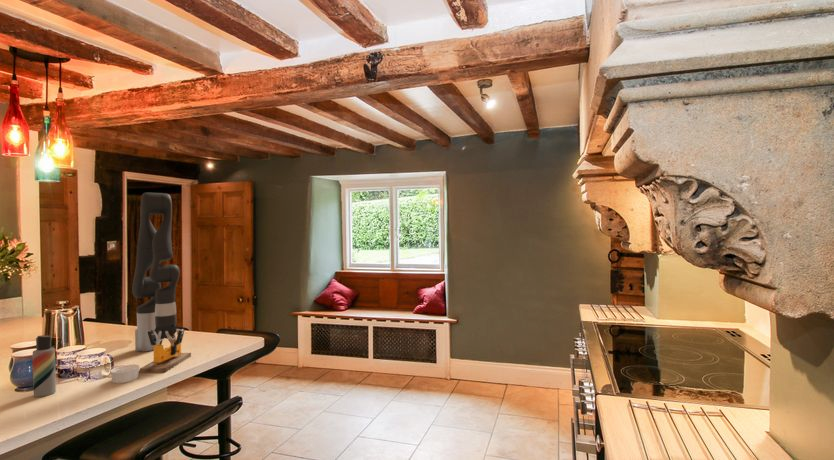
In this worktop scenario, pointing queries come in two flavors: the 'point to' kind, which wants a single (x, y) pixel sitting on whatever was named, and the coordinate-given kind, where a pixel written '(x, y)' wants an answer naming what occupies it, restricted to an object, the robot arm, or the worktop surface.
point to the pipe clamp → (164, 352)
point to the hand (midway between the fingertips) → (166, 354)
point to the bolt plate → (165, 364)
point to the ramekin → (124, 373)
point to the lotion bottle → (44, 367)
